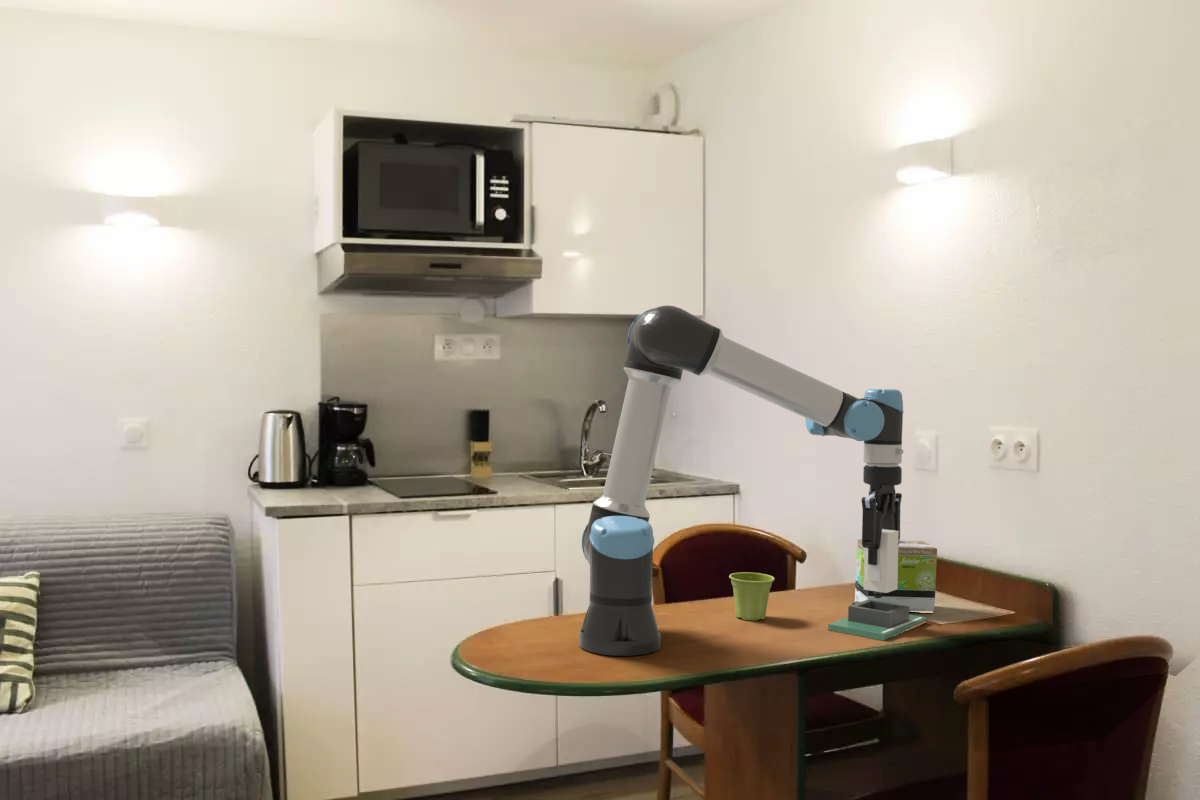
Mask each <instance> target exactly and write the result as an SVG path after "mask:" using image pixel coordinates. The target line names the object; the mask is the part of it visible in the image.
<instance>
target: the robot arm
mask: <svg viewBox="0 0 1200 800" xmlns="http://www.w3.org/2000/svg"><path fill="white" fill-rule="evenodd" d="M627 345H628V346H627V351H626V356H625V362H624V365H623V371H624V372H625V373H626V375H627V377H628V381H627V385H626V386H627V387H626V391H625V394H624V400H623V404H622V409H621V413H620V417H619V420H618V425H617V429H616V435H615V438H614V444H613V447H612V452H611V456H610V461H609V465H608V470H607V474H606V479H605V483H604V488H603V491H602V494H601V496H600V497H599V498H597V499H596V500H594V501H592V507H591V511H590V514H589V519H588V523H587V524H586V526H585V529H584V530H583V532H582V536H581V549H582V553H583V555H584V558H585V560H586V562H588V564H589V603H588V604H589V605H588V608H587V611H586V613H585V616H584V619H583V623H582V626H581V628H580V631H579V637H578V638H579V644H578V645H579V647H580V648H581V649H583V650H585V651H587V652H591V653H593V654H599V655H606V656H614V657H618V656H619V657H621V656H622V657H624V656H625V657H627V656H628V657H630V656H631V657H632V656H633V657H634V656H642V655H647V654H652V653H654V652H656V651H658V650H660V648H661V632H660V630H659V628H658V627H659V626H658V622H657V619H656V615H655V612H654V609H653V568H654V567H653V561H654V555H653V553H654V546H655V545H654V544H655V537H654V529H653V527H652V525H651V524H650V517H651V514H650V513H649V511H648V509H647V507H646V499H647V495H648V491H649V487H650V484H651V483H650V482H651V477H652V474H653V470H654V464H655V460H656V457H657V450H658V446H659V443H660V438H661V433H662V429H663V425H664V421H665V417H666V413H667V407H668V403H669V399H670V394H671V390H672V388H673V387H674V386H676V385H677V384H679V383H680V382H682V381H681V380H682V376H683V371H686V372H689V373H692V374H694V375H697V376H698V377H701V376H703V375H709V376H711V377H713V378H716V379H718V380H720V381H723V382H725V383H727V384H729V385H731V386H734V387H736V388H738V389H740V390H743V391H745V392H747V393H748V394H752V395H753V396H756V397H759V398H760V399H763V400H764V401H767V402H769V403H772V404H774V405H776V406H779V407H781V408H783V409H784V410H787V411H789V412H791V413H793V414H796V415H798V416H800V417H802V418H805V422H804V423H805V427H806V430H807V432H808V434H810V435H812V436H822V437H825V436H836V437H841V438H845V439H846V438H847V439H850V440H854V441H855V442H856V441H857V442H863V462H864V464H865V465H864V466H863V472H862V473H863V474H862V475H863V477H862V478H863V480H862V481H863V483H864V484H866V485H869V491H868V496H867V497H865V496H864V497H863V496H862V497H861V506H862V522H861V523H862V526H861V539H862V546H863V548H868V564H867V580H871V581H878V582H880V581H881V568H882V549H879V547H880V540H881V533H882V529H887V530H896V531H899V534H898V545H899V543H900V541H899V540H900V539H901V503H902V499H903V497H902V493H899V492H896V486H899V485H901V484H902V476H903V475H902V474H903V473H902V472H903V471H902V470H903V468H902V467H901V466H900V464H902V461H903V458H902V457H903V456H902V455H903V454H904V449H903V422H904V421H903V420H904V400H903V394H902V392H901V391H900V390H899V389H897V388H896V389H892V388H885V389H884V388H868V389H866V390H865V391H864V396H863V398H858V397H856V396H854V395H852V394H850V393H846V392H844V391H842V390H841V389H838V388H837V387H834V386H832V385H830V384H827V383H825V382H823V381H821V380H819V379H816V378H815V377H813V376H811V375H808V374H806V373H803V372H801V371H799V370H797V369H795V368H793V367H791V366H789V365H786V364H783V363H781V362H779V361H777V360H775V359H773V358H772V357H771V358H770V357H768V356H766V355H764V354H762V353H760V352H757V351H756V350H753V349H751V348H749V347H746V346H744V345H742V344H740V343H738V342H736V341H734V340H732V339H729V338H727V337H725V336H724V334H723V331H722V329H721V328H719V327H717V326H714V325H712V324H710V323H708V322H706V321H704V320H703V319H701V318H699V317H697V316H695V315H693V314H692V313H691V312H690V311H689V312H688V310H685V309H683V308H681V307H677V306H675V305H668V304H667V305H661V306H657V307H654V308H650V309H648V310H644V311H643V312H641V314H639V315H638V316H637V317H636V318H635V319H634V320H633V321H632V324H631V325H630V328H629V330H628V333H627ZM651 652H652V653H651Z"/></svg>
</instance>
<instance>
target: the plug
mask: <svg viewBox="0 0 1200 800" xmlns="http://www.w3.org/2000/svg"><path fill="white" fill-rule="evenodd" d="M898 534H899V531H896V530H887V529H882V533H881V540H880V547H879V549H882V568H881V581H880V582H878V581H871V580H867V564H868V548H864V590H870V591H877V592H883V593H888V592H891V591H894V590H897V587H898Z"/></svg>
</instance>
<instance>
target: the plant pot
mask: <svg viewBox="0 0 1200 800" xmlns="http://www.w3.org/2000/svg"><path fill="white" fill-rule="evenodd" d="M728 578H729V579H730V580H731V581H730V582H731V585H732V589H733V590H732V591H733V600H734V601H733V602H734V611H735V617H736V618H737V619H740V618H741V619H742V620H744V621H758V620H765V618H766V615H767V608H768V602H769V596H770V590H771V588H772V584H773V582H774V581H775V577H774V576H772V575H770V574H766V573H760V572H745V571H744V572H743V571H742V572H734V573H730V574H729V576H728Z"/></svg>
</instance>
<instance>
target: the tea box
mask: <svg viewBox="0 0 1200 800" xmlns="http://www.w3.org/2000/svg"><path fill="white" fill-rule="evenodd" d="M899 541H900V543H899V545H898V587H897V590H894V591H891V592H888V593H883V592H877V591H870V590H864V548H863V546H862V538H861V539H860V538H859V539H857V548H856V567H855V569H856V571H855V588H854V602H856V601H858V602H862V601H865V600H868V599H869V600H875V601H881V602H887V603H893V604H899V605H905V606H909V612H911V611H934V612H935V607H936V606H935V604H936V589H937V588H936V584H937V580H936V579H937V567H938V566H937V562H938V561H937V560H938V548H936V547H935V546H933V545H931V544H929V543H927V542H925V541H923V540H903V539H902V540H899Z"/></svg>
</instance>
